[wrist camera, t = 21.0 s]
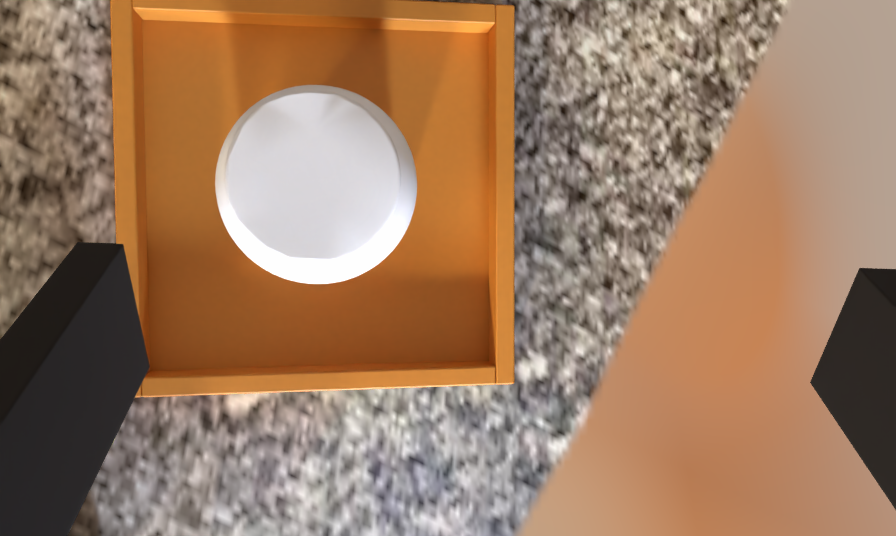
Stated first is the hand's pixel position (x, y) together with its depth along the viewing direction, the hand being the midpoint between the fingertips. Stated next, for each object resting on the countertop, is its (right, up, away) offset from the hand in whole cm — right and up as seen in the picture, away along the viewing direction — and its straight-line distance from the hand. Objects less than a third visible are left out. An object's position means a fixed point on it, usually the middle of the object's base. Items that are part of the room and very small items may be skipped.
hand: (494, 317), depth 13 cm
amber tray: (-6, +4, +17) cm, 19 cm away
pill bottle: (-6, +4, +17) cm, 18 cm away
